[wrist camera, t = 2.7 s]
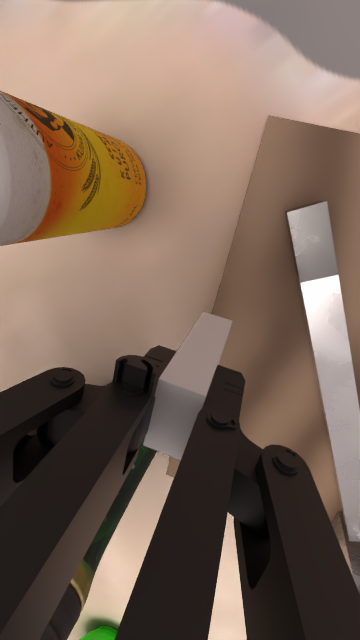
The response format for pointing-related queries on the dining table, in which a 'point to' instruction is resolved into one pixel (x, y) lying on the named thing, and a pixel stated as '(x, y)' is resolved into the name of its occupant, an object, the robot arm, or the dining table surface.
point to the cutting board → (289, 290)
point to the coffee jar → (95, 553)
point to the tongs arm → (329, 348)
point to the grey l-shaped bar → (348, 547)
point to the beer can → (62, 176)
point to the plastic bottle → (101, 634)
